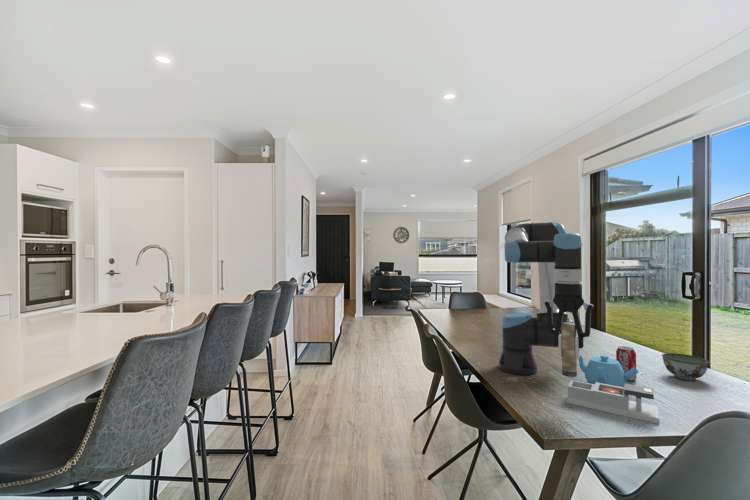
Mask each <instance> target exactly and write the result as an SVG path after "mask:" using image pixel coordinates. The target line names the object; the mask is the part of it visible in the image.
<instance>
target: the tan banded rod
mask: <svg viewBox="0 0 750 500" xmlns="http://www.w3.org/2000/svg"><path fill="white" fill-rule="evenodd" d="M561 330H562V357H561V374H562V376H564V377H568V378H576V377H577V376H578V370H577V369H578V366H577V363H578V362H577V360H578V359H576V351H575V338H576V336H577V330H576V326H575V322H573V323H561Z"/></svg>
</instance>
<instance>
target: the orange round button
mask: <svg viewBox="0 0 750 500" xmlns="http://www.w3.org/2000/svg"><path fill="white" fill-rule="evenodd" d="M602 391H604V392H609V393H614V394H619V395H620V392H619V391H617V390H614V389H610V388H604V389H602Z"/></svg>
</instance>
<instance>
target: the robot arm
mask: <svg viewBox="0 0 750 500" xmlns="http://www.w3.org/2000/svg"><path fill="white" fill-rule="evenodd" d="M504 242H505V243H504V260H505V262H506V263H513V264H518V263H520V264H521V263H537V266H538V268H537V270H538V290H539V291H538V292H539V308H540V309H539V311H538V312H536V317H533V315H532V314H531V313H529V312H517V313H509V314H506V315H504V316H503V317H502V321H501V322H502V325H501V328H502V351H501V354H500V357H499V360H498V369H499V368H500V369H499V370H500V371H503V372H504V373H508V374H513V375H517V376H518V375H519V376H523V375H524V376H526V375H527V376H529V375H535V374H536V373H538V365H537V362H536V360H535V359H536V358H535V356H534V353H533V346H535V347H546V348H556V349H558V357H561V358H562V330H561V323H574V324H575V326H576V338H575V351H576V359H577V360H579V358H580V355H581V354H580V349H583V348H584V345H585V344H584V338H589V337H590V335H591V325H592V324H591V322H592V311H593V309H594V304H593V303H588V302H586V301H585V300H584V298H583V285H582V282H583V271H582V246H583V243H582V236H581V234H580V233H576V232H575V233H569V232H568V233H567V232H566V229H565V226H564V225H563V224H562V223H560V222H552V221H551V222H550V221H549V222H532V223H520V224H517V225H515V226H513V227H511V228H509V229H508V230H507V231H506V233H505V234H504ZM582 306H583V308H584V310H585V314H584V315H585V318H584V320H585V321H584V331H583V328H582V327H583V326H582V324H581V323H582V322H581V319H580V314H579V310H580V308H581V307H582ZM568 313H571V315H572V317H573V320H572V319H571V318H569V315H568ZM573 321H574V322H573Z"/></svg>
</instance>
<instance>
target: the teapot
mask: <svg viewBox="0 0 750 500" xmlns="http://www.w3.org/2000/svg"><path fill="white" fill-rule="evenodd" d="M578 366H579V367H580V371H581V372H582V373H584V379H585V380H586V381H587V383H590V384H595V383H596V382H597V383H603V384H608V385H613V386H619V387H624V385H625V384H626V383H627V382H626V381H627V380H628V379H629V378H631V377H633V376H634V375H636V376H637V374H639V372H640V371H639V370H638V369H637V368H636V369H635V368H634V367H633V368H632V369H630V370H629V371H628V372H626V373H625V374H624V371H623V368H622V366H621V365H620V363H619V361H617V360H616V359H613V358H609V356H608V355H604V354H601V355H600V356H592V357H591V358H590V359H589V360H588V363H587V365H586V364H585V363H584V359H583V356H582V355H581V354H580V358H579V359H578Z"/></svg>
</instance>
